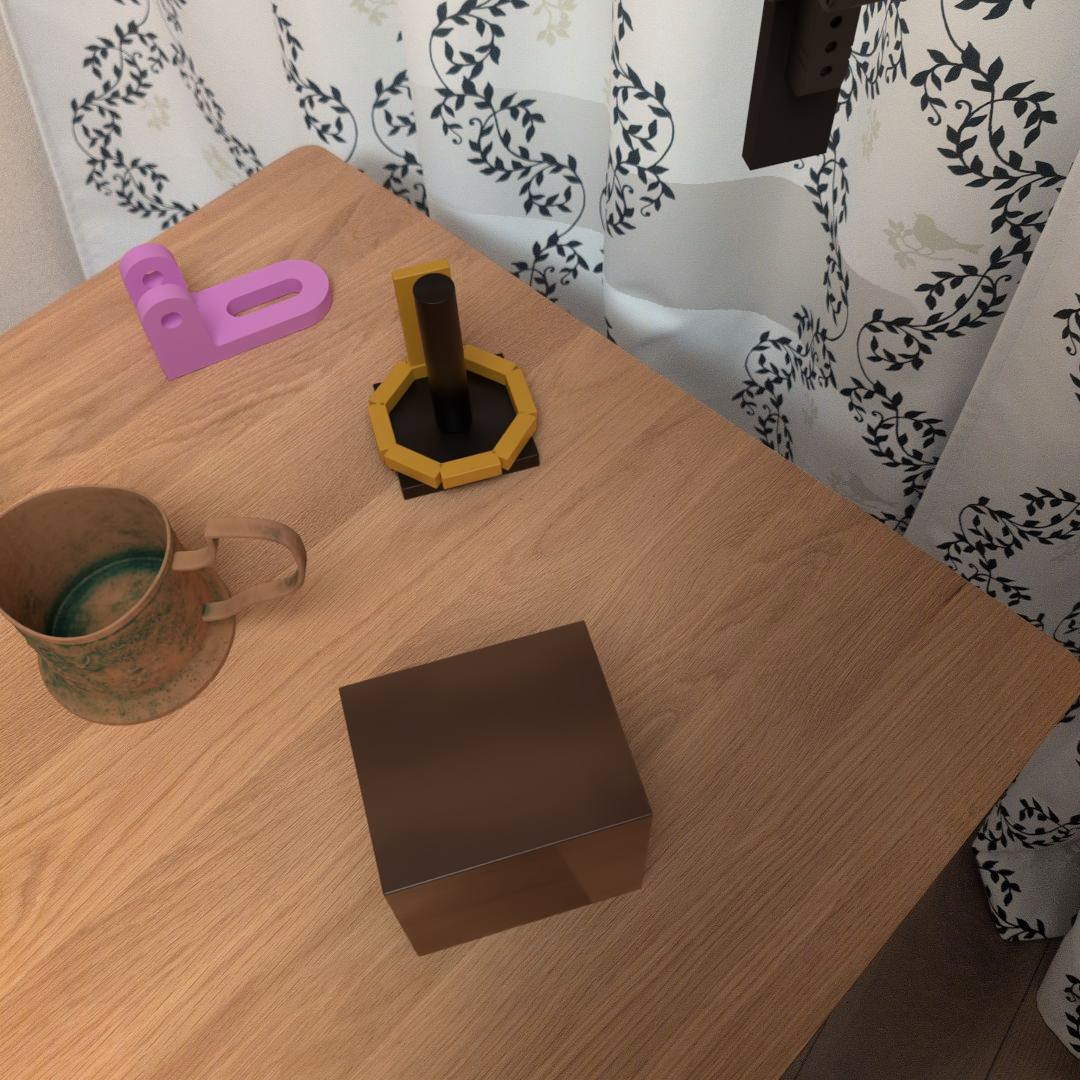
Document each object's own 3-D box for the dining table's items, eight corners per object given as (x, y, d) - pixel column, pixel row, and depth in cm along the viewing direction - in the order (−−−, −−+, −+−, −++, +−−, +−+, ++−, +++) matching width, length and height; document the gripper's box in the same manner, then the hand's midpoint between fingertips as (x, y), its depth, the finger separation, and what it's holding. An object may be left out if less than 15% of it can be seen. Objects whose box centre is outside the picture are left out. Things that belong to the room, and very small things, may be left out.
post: (540, 465, 74) (532, 326, 63) (404, 500, 73) (371, 365, 62) (503, 363, 79) (490, 216, 68) (375, 395, 78) (340, 251, 67)
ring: (552, 462, 73) (548, 367, 65) (392, 503, 72) (369, 411, 64) (508, 343, 78) (500, 242, 70) (359, 379, 77) (334, 281, 69)
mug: (325, 723, 65) (277, 626, 55) (19, 726, 66) (-84, 631, 56) (343, 549, 71) (304, 433, 61) (63, 554, 72) (-22, 439, 62)
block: (641, 888, 60) (653, 814, 50) (418, 957, 59) (383, 895, 48) (584, 717, 65) (584, 619, 55) (377, 777, 64) (337, 687, 53)
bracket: (168, 381, 79) (134, 310, 73) (145, 327, 82) (110, 255, 76) (343, 313, 82) (325, 240, 76) (316, 263, 85) (295, 189, 79)
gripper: (1359, -781, 18) (967, 245, 36) (750, -991, 30) (688, -157, 49) (911, -721, 17) (741, 301, 35) (477, -963, 30) (517, -124, 48)
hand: (710, 35), depth 42 cm, fingers open, 13 cm apart
